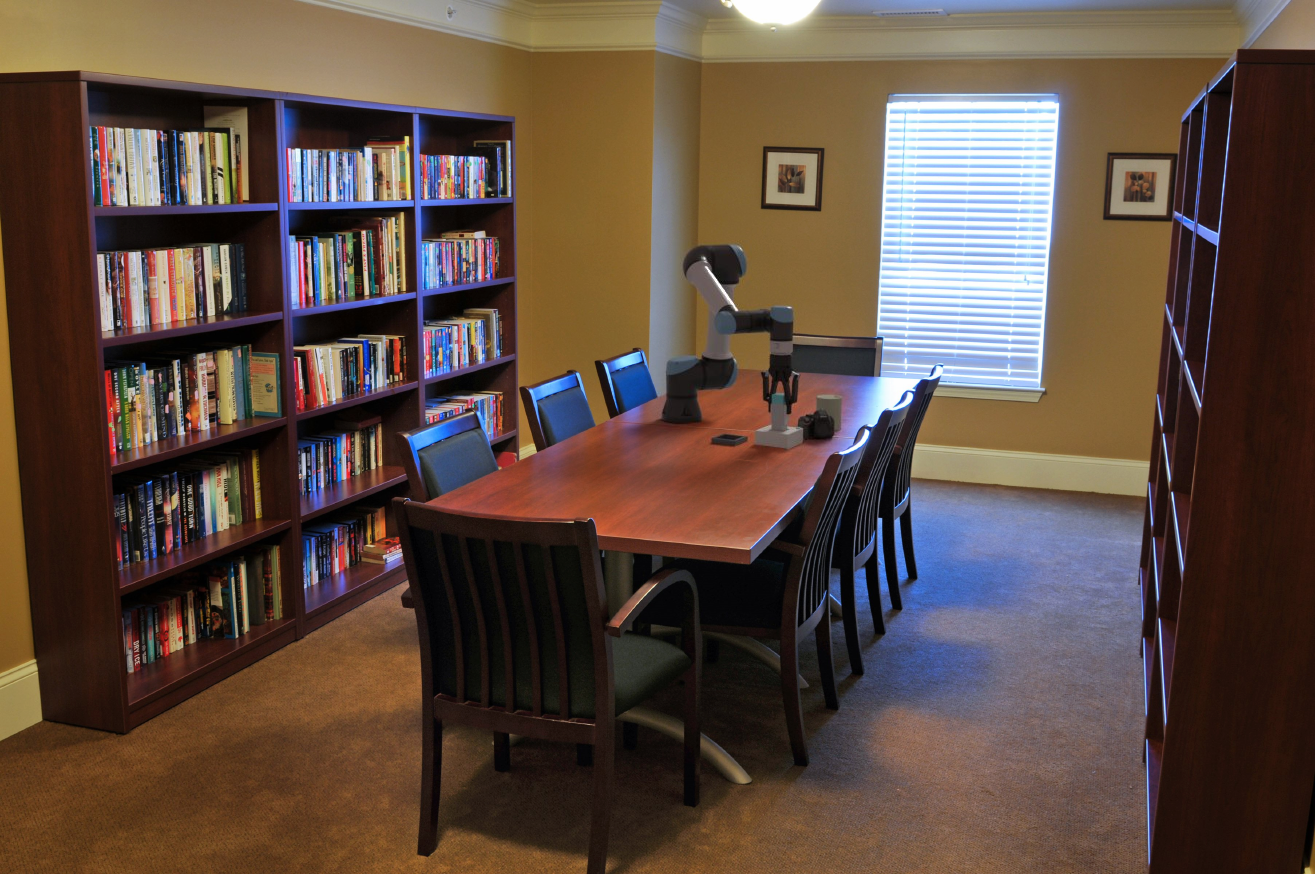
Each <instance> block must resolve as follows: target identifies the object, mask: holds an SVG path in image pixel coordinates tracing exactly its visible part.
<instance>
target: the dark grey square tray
mask: <svg viewBox="0 0 1315 874" xmlns="http://www.w3.org/2000/svg"><path fill="white" fill-rule="evenodd" d="M748 437H749V436H748V435H742V434H732V433H722V434H719V435H717V436H716V435H715V436H714V437H711V439H710V441H711V444H716V445H717V444H718V445H724V446H725V445H727V446H733V447H736V446H739V445H741V444H743V443H746V442H748Z"/></svg>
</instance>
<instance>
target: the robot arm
mask: <svg viewBox="0 0 1315 874" xmlns="http://www.w3.org/2000/svg"><path fill="white" fill-rule="evenodd" d="M747 265H748V262H747V256H746V255H745V252H744V250H743V249H742V248H741V246H740V245H737V244H729V243H726V244H725V243H724V244H700V245H696V246H694V247H692V248H691V249H690V250H689V251H688V252H687V253H686V254H685V257H684V258H683V261H682V271H683V275H684V277H685V279H686V280H687V281H688V283H689V284H691V285H693V286H695V288H696V290H697V291H698V292H699V294H700V296H701V297H702V298H703V300H704V302H705V303H706V304H707V306H708V322H707V334H706V345H705V346H706V347H705V349H704V350H703V351H702V352H701V358H698V356H696V355H680V356H676V357H672V358H670V359H668V360H667V362H666V369H665V382H666V383H665V384H666V385H665V394H666V395H665V402H664V405H663V407H662V411H661V421H663V422H666V423H673V424H689V423H690V424H692V423H697V422H700V421H702V420H703V412H702V409H701V405H700V403H699V401H698V400H699V399H698V394H699V393H698V391H711V390H712V391H713V390H724V389H729V388H732V386H734V384H735V383H736V381H737V378H738V375H739V367H738V362H737V360H736V359H735V358H734V356H733V355H734V354H733V353H732V351H730V345H731V344H730V343H731V336H732V335H739V334H741V335H742V334H761V333H762V334H763V333H767V334H769V352H770V354H769V367H768V369H767V370H763V371H761V372H760V375H761V378H762V400H763V401H764V402H767V403H768V406H767V407H768V408H767V411H768V413H770V419H769V420H770V424H771V422H772V394H775V393H777V391H778V390H777V389H778V384H779V382H781V385H782V387H783V388H782V389H783V393H784V395H785V401H786V404H785V405H784V419H783V424H784V425H786V424H787V425H789V423H790V415H791V414H792V411H793V410H792V405H793V404H796V403H798V395H799V393H798V392H799V381H800V377H801V373H799V372H798V373H797V372H795V371H794V369H793V354H792V353H793V351H794V349H793V348H794V347H793V342H794V338H793V337H794V319H795V318H794V317H795V316H794V309H793V307H792V306H789V305H773V306H771V307H770V309H768V308H759V309H756V310H755V309H754V310H740V309H738V307H737V306H736V305H735V303H734V299H735V298H734V295H735V287H737V286H738V285H739V284H740V278H743V277H744V276H745V275H746V273H747V268H748V266H747ZM770 376H771V382H770ZM790 378H791V379H792V382H791V386H790ZM770 383H771V385H770Z"/></svg>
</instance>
